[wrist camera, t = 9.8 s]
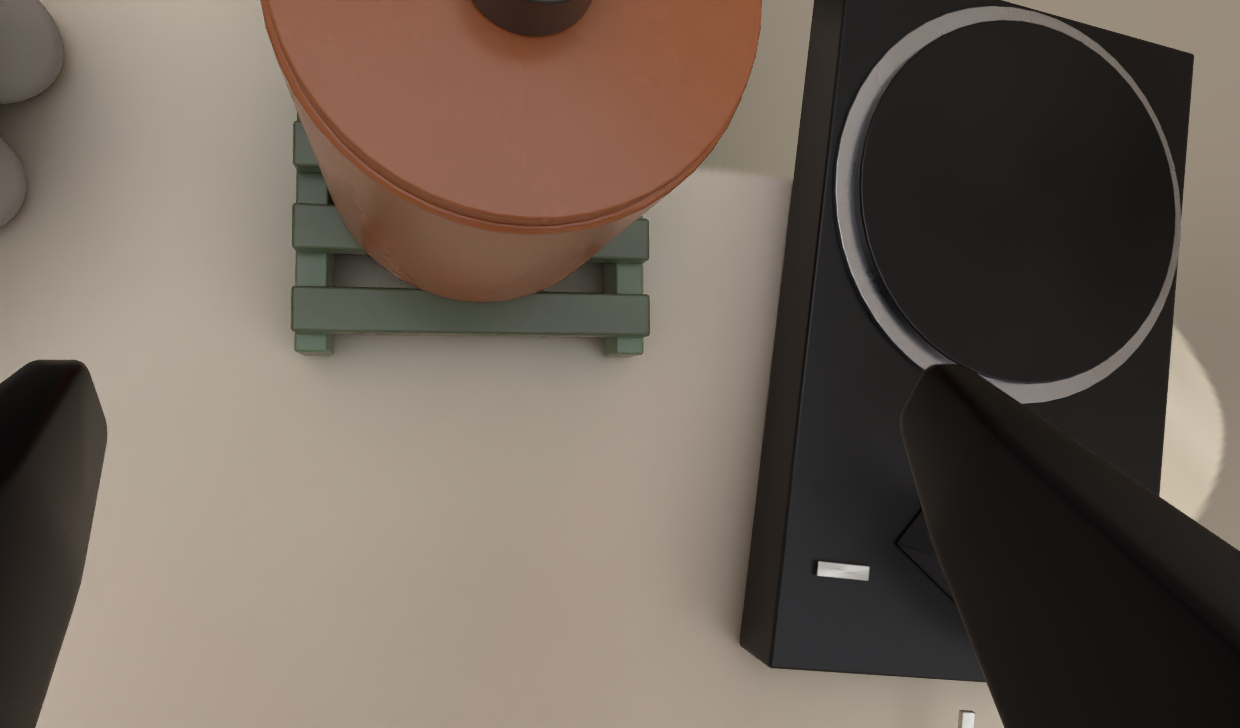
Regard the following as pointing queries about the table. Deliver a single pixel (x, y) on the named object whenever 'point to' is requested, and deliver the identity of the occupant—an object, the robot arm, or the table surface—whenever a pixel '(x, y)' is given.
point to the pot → (507, 123)
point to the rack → (424, 313)
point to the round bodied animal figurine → (23, 80)
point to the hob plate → (1007, 202)
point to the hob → (896, 396)
